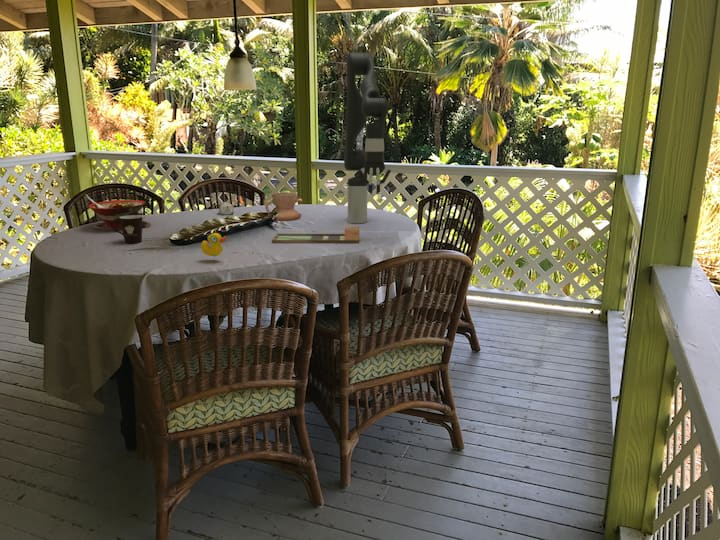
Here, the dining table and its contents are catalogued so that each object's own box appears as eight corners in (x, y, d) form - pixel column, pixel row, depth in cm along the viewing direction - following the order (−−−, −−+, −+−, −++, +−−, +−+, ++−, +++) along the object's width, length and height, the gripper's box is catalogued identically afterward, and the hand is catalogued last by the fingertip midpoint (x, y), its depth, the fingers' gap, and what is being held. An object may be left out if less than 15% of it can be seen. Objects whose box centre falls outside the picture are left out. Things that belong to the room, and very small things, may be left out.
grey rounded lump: (231, 221, 281) (229, 200, 278) (214, 220, 283) (213, 200, 280) (238, 218, 289) (237, 198, 287) (222, 217, 291) (221, 198, 289)
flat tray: (276, 236, 244) (276, 233, 244) (359, 236, 244) (359, 233, 244) (272, 243, 231) (271, 240, 231) (359, 243, 231) (359, 240, 231)
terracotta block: (344, 237, 240) (344, 226, 239) (359, 237, 240) (359, 226, 239) (344, 240, 235) (344, 229, 233) (359, 240, 235) (359, 229, 233)
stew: (73, 232, 252) (68, 195, 248) (113, 223, 274) (110, 189, 270) (124, 236, 243) (120, 198, 239) (161, 227, 265) (159, 192, 261)
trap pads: (312, 236, 243) (312, 235, 243) (340, 237, 243) (340, 235, 243) (309, 242, 232) (309, 241, 232) (339, 242, 232) (339, 241, 232)
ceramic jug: (299, 219, 288) (298, 190, 284) (306, 224, 274) (305, 194, 271) (263, 221, 282) (262, 192, 279) (268, 226, 269) (267, 195, 265)
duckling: (229, 255, 210) (228, 232, 208) (224, 257, 206) (223, 234, 203) (205, 254, 211) (203, 231, 209) (199, 256, 207) (197, 233, 205)
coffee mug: (149, 240, 236) (147, 215, 233) (134, 244, 228) (132, 219, 225) (126, 238, 240) (123, 214, 237) (111, 242, 232) (108, 217, 229)
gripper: (391, 149, 232) (390, 192, 237) (357, 149, 232) (357, 192, 237) (392, 150, 225) (391, 195, 229) (357, 150, 225) (357, 195, 229)
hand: (374, 193), depth 233 cm, fingers closed
